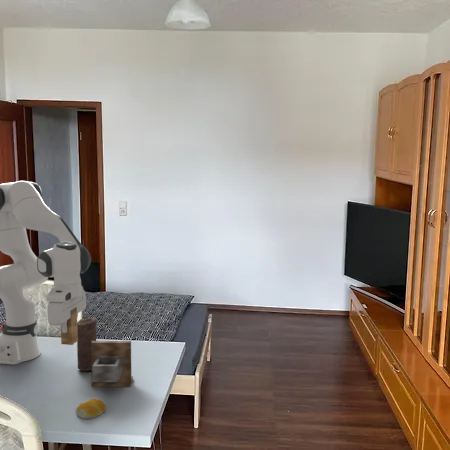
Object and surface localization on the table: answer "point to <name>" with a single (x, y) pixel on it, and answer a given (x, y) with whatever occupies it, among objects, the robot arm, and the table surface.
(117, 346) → the bracket
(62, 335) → the wooden block
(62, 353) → the table surface
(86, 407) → the bread roll
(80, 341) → the brown rough cylinder
